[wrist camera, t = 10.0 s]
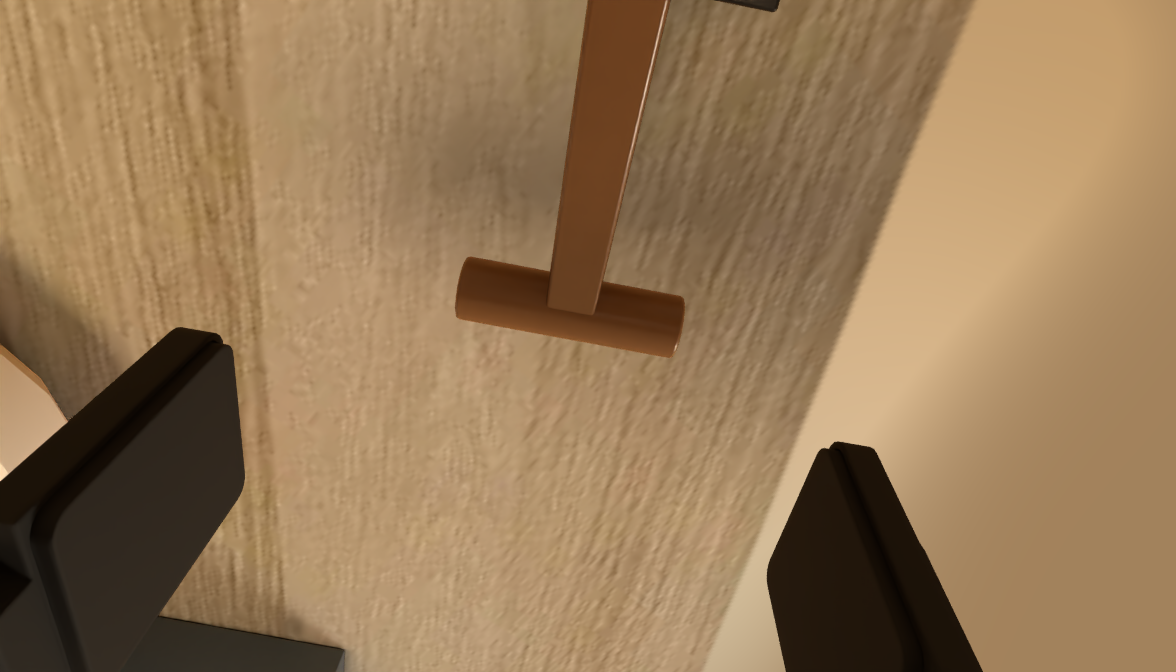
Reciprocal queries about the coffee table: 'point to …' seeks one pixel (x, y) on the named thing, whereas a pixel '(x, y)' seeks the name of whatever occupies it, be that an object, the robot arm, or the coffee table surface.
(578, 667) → the coffee table surface
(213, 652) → the panel
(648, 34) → the lever
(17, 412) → the white vase
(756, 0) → the bracket
